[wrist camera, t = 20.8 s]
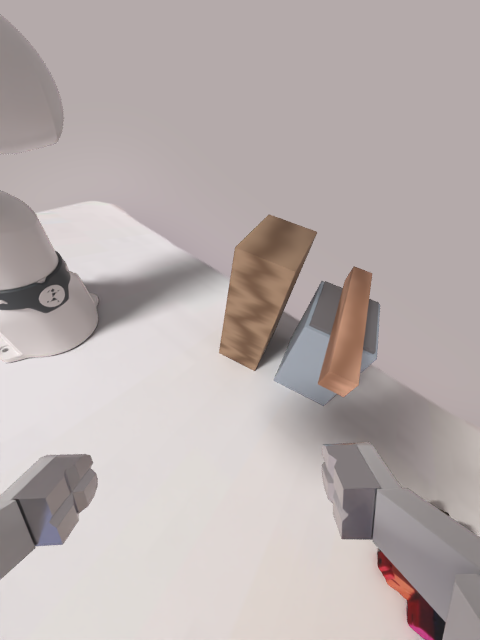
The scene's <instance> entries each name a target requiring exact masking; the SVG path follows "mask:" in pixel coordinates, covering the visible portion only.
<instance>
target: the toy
mask: <svg viewBox="0 0 480 640" xmlns="http://www.w3.org/2000/svg"><path fill="white" fill-rule="evenodd" d="M439 510H440V509H439ZM440 511H442V510H440ZM442 512H443V513H445V514H446V515H448V516H449V514H448V513H447V512H444V511H442ZM378 567H379V569H380V571H381V572H382V574H383V576H384V577H385V579H386V582H387V583H388V585H389V586H391V587H392V588H393V589H395V590H397V591H398V592H399V593H400V594H401V595H402V596H403V597H404V598H405V599H407V603H408V615H407V622H408V624H409V626H410V627H411V628H412V629H413V630H414V631H415V632H417V633H418V634H419V635H420V636H421V637H422V638H424V639H425V640H442V639H443V634H444V629H445V625H446V622H445V621H444V620H443V619H442V618H441V617H440V616H439V615H438V613H437V612H436V611H435V610H434V609H433V608H432V607H431V606H430V605H429V603H428V602H427V601H426V600H425V599H424V598H423V597H422V596H421V595H420V593H419V592H418V591H417V590H416V589H415V588H414V587H413V586H412V585H411V584H410V582H409V581H408V580H407V579H406V578H405V577H404V576H403V575H402V574H401V572H400V571H399V570H398V569H397V568H396V567H395V566H394V565H393V564H392V562H391V561H390V560H389V559H388V558H387V557H386V556H385V555H384V554H383V552H382V551H380V552H378Z"/></svg>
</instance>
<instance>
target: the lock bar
mask: <svg viewBox="0 0 480 640" xmlns="http://www.w3.org/2000/svg"><path fill="white" fill-rule="evenodd" d="M371 279H372V273H370V272H367V271H365V270H362V269H359V268H357V267H353V269H352V270H351V272H350V273H349V275H348V276H347V278H346V280H345V282H344V286H343V290H342V293H341V297H340V301H339V305H338V309H337V312H336V316H335V320H334V324H333V327H332V331H331V335H330V339H329V343H328V346H327V350H326V354H325V358H324V361H323V365H322V369H321V373H320V377H319V380H318V385H320V386H322V387H324V388H326V389H328V390H330V391H332V392H334V393H336V394H338V395H340V396H342V397H345V396H346V395H347V394H348V393H349V392H351V391H352V390H353V389H354V388H356V387H357V386H358V385H359V377H360V369H361V360H362V352H363V344H364V336H365V328H366V320H367V312H368V304H369V295H370V287H371Z"/></svg>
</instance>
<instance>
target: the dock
mask: <svg viewBox="0 0 480 640" xmlns="http://www.w3.org/2000/svg"><path fill="white" fill-rule="evenodd" d="M342 290H343V288H341V287H338V286H336V285H333V284H331V283H328V282H323V281H322V282H321V284H320V285H319V287H318V289H317V291H316V293H315V295H314V297H313V299H312V300H311V302H310V304H309V306H308V308H307V310H306V311H305V313H304V315H303V317H302V319H301V321H300V323H299V324H298V326H297V328H296V330H295V332H294V334H293V336H292V337H291V340H290V342H289V345H288V347H287V349H286V352H285V354H284V357H283V359H282V361H281V364H280V366H279V369H278V371H277V373H276V376H275V378H274V381H276V382H278V383H280V384H282V385H283V386H285V387H287V388H289V389H291V390H293V391H295V392H297V393H299V394H301V395H303V396H305V397H307V398H309V399H311V400H313V401H315V402H317V403H319V404H321V405H323V406H324V405H325V404H326V403H327V402H328V401H329V400H331V399H332V398H333V397H334V396H335V395H336V393H334V392H332V391H330V390H328V389H326V388H324V387H322V386H320V385H318V380H319V377H320V373H321V369H322V365H323V361H324V358H325V354H326V350H327V346H328V343H329V339H330V335H331V331H332V327H333V324H334V320H335V316H336V312H337V309H338V305H339V301H340V297H341V293H342ZM379 315H380V304H379V303H378V302H375V301H373V300H371V299H369V304H368V312H367V320H366V328H365V336H364V344H363V352H362V360H361V369H360V373H361V372H362V371H364V370H365V369H366V368H367V367H368V366H369V365H370V364H372V363H373V362H374V361H375V360H376V359H377V349H378V332H379Z"/></svg>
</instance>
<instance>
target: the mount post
mask: <svg viewBox="0 0 480 640" xmlns="http://www.w3.org/2000/svg"><path fill="white" fill-rule="evenodd" d="M316 234H317V232H316V231H313V230H310V229H307V228H305V227H302V226H299V225H297V224H294V223H291V222H288V221H286V220H283V219H280V218H277V217H275V216H271V215H268V216H267V217H266V218H265V219H264V220H263V221H262V222H261V223H260V224H259V225H258V226H257V227H256V228H254V229H253V230H252V231H251V232H250V233H249V234H248V235H247V236H246V237H245V238H244V239H243V240H242V241H241V242H240V243H239V244H238V245H237V246H236V247H235V251H234V258H233V264H232V271H231V277H230V284H229V291H228V297H227V304H226V310H225V317H224V323H223V330H222V337H221V343H220V350H219V353H220V354H222V355H224V356H226V357H228V358H230V359H232V360H234V361H236V362H238V363H240V364H242V365H244V366H246V367H248V368H250V369H252V370H254V371H255V370H256V368H257V366H258V364H259V362H260V360H261V358H262V356H263V353H264V351H265V349H266V347H267V345H268V343H269V341H270V339H271V337H272V335H273V333H274V331H275V329H276V327H277V325H278V322H279V320H280V318H281V315H282V313H283V311H284V308H285V306H286V304H287V301H288V299H289V297H290V294H291V292H292V290H293V287H294V285H295V283H296V280H297V278H298V276H299V273H300V271H301V268H302V267H303V264H304V262H305V259H306V257H307V255H308V253H309V250H310V248H311V246H312V243H313V241H314V238H315V236H316Z"/></svg>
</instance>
